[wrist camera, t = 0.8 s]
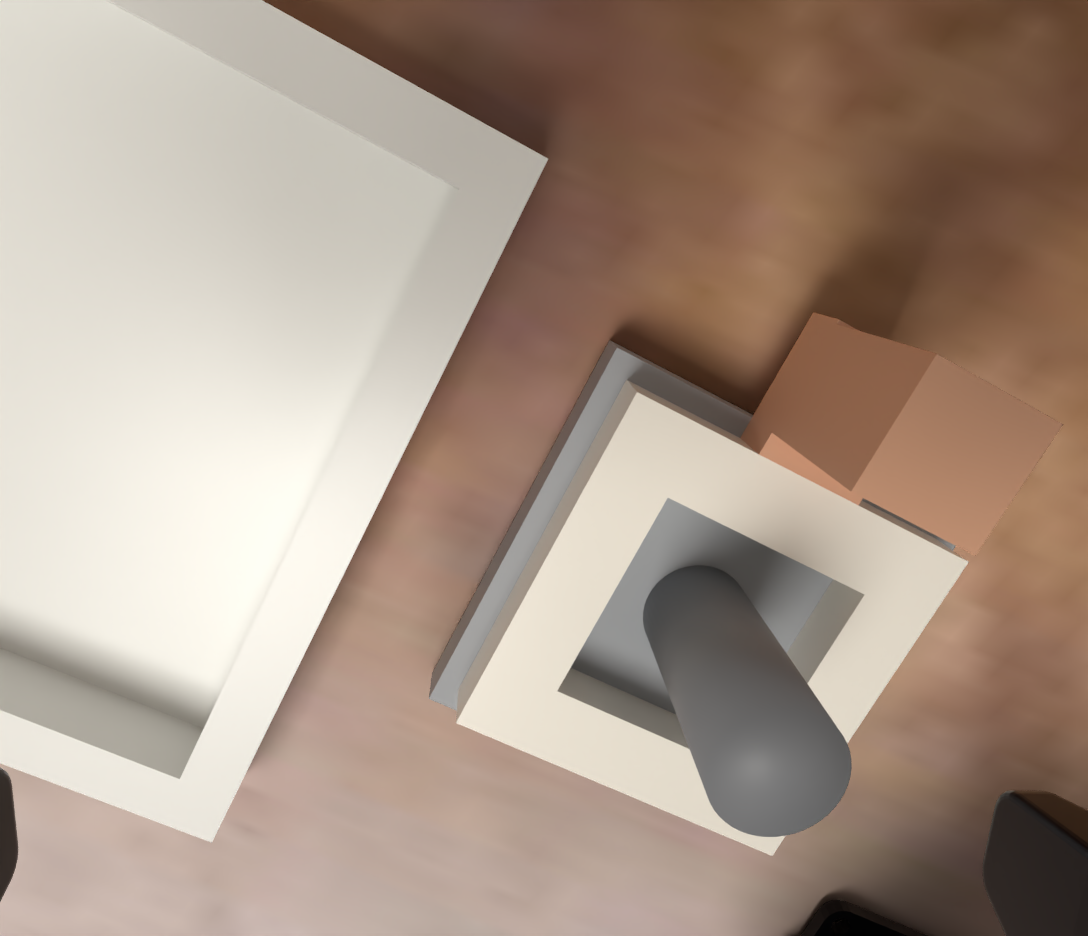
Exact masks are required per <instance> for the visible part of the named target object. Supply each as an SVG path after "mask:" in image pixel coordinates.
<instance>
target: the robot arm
mask: <svg viewBox="0 0 1088 936" xmlns="http://www.w3.org/2000/svg"><path fill="white" fill-rule="evenodd" d="M17 858H18V840H17V830H16V820H15V811H14V801H13V791H12V784H11V780H10V777H9V775H8V773H7V772H6V771H4V770H3V769H2V768H0V901H1V899H2V897H3V895H4V893H5V891H6V889H7V887H8V885H9V883H10V881H11V879H12V876H13V874H14V871H15V868H16V863H17ZM983 881H984V886H985V889H986V892H987V895H988V898H989V900H990V902H991V904H992V906H993V909H994V911H995V913H996V915H997V917H998V920H999V922H1000V924H1001V926H1002V928H1003V931H1004V933H1005V935H1006V936H1088V810H1086V809H1084V808H1082V807H1080V806H1078V805H1075V804H1073V803H1071V802H1069V801H1067V800H1065V799H1063V798H1061V797H1059V796H1057V795H1055V794H1053V793H1050V792H1045V791H1019V790H1010V791H1006V792H1005V793H1003V794H1002V795H1000V797H999V798H998V800H997V802H996V805H995V809H994V814H993V818H992V823H991V828H990V832H989V837H988V841H987V846H986V851H985V855H984V860H983ZM841 918H842V920H841V921H839V922H837V923H833V922H834V921H835V920H837V919H841ZM801 936H928V935H925V934H923V933H920V932H918V931H916V930H913V929H911V928H908V927H906V926H904V925H901V924H899V923H896V922H894V921H892V920H889V919H887V918H884V917H882V916H880V915H877V914H875V913H872V912H870V911H868V910H865V909H863V908H860V907H858V906H856V905H853V904H851V903H849V902H846V901H843V900H831V901H829V902H827V903H825V904H824V905H823V906H822V907H821V908H820V909H819V910H818V912H817V913H816V914H815V916H814V917H813V919H812V920H811V922H810V923H809V924H808V926H807V927H806V929H805V930H804V932H803V933H802V935H801Z"/></svg>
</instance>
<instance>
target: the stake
mask: <svg viewBox="0 0 1088 936" xmlns="http://www.w3.org/2000/svg"><path fill="white" fill-rule="evenodd" d="M626 380H628V381H630V382H632V383H634V384H636V385H638V386H640V387H642V388H644V389H646V390H647V391H649V392H651V393H653V394H655V395H657V396H659V397H661V398H663V399H665V400H667V401H669V402H671V403H673V404H675V405H677V406H679V407H681V408H682V409H684V410H686V411H688V412H690V413H692V414H694V415H696V416H698V417H700V418H702V419H704V420H706V421H708V422H710V423H712V424H714V425H716V426H718V427H719V428H721V429H723V430H725V431H727V432H729V433H731V434H733V435H735V436H737V437H739V438H740V437H741V436H742V434H743V432H744V430H745V429H746V427H747V425H748V423H749V422H750V420H751V418H752V417H753V415H752V414H750V413H748V412H747V411H745V410H743V409H741V408H739V407H737V406H735V405H733V404H731V403H729V402H727V401H725V400H724V399H722V398H720V397H718V396H716V395H714V394H712V393H710V392H708V391H706V390H704V389H702V388H701V387H699V386H697V385H695V384H693V383H691V382H689V381H687V380H685V379H683V378H681V377H679V376H677V375H676V374H674V373H672V372H670V371H668V370H666V369H664V368H662V367H660V366H658V365H656V364H654V363H653V362H651V361H649V360H647V359H645V358H643V357H641V356H639V355H637V354H635V353H633V352H631V351H630V350H628V349H626V348H624V347H622V346H620V345H618V344H616V343H614V342H612V341H610V340H609V342H608V344H607V346H606V348H605V349H604V351H603V353H602V355H601V357H600V359H599V361H598V363H597V364H596V366H595V368H594V370H593V372H592V374H591V376H590V378H589V379H588V381H587V383H586V385H585V387H584V389H583V391H582V393H581V395H580V396H579V398H578V400H577V402H576V404H575V406H574V408H573V410H572V411H571V413H570V415H569V417H568V419H567V421H566V423H565V425H564V426H563V428H562V430H561V432H560V434H559V436H558V438H557V440H556V441H555V443H554V445H553V447H552V449H551V451H550V453H549V455H548V456H547V458H546V460H545V462H544V464H543V466H542V468H541V470H540V472H539V473H538V475H537V477H536V479H535V481H534V483H533V485H532V487H531V488H530V490H529V492H528V494H527V496H526V498H525V500H524V502H523V503H522V505H521V507H520V509H519V511H518V513H517V515H516V517H515V518H514V520H513V522H512V524H511V526H510V528H509V530H508V532H507V533H506V535H505V537H504V539H503V541H502V543H501V545H500V547H499V548H498V550H497V552H496V554H495V556H494V558H493V560H492V562H491V564H490V565H489V567H488V569H487V571H486V573H485V575H484V577H483V579H482V580H481V582H480V584H479V586H478V588H477V590H476V592H475V594H474V595H473V597H472V599H471V601H470V603H469V605H468V607H467V609H466V610H465V612H464V614H463V616H462V618H461V620H460V622H459V624H458V625H457V627H456V629H455V631H454V633H453V635H452V637H451V639H450V641H449V642H448V644H447V646H446V648H445V650H444V652H443V654H442V656H441V657H440V659H439V661H438V663H437V665H436V667H435V669H434V671H433V672H432V678H431V686H430V694H429V699H431V700H433V701H435V702H438V703H440V704H442V705H445V706H447V707H449V708H452V709H454V710H457V700H458V689H459V687H460V685H461V684H462V682H463V680H464V678H465V676H466V674H467V672H468V671H469V669H470V667H471V665H472V663H473V661H474V660H475V658H476V656H477V654H478V652H479V650H480V649H481V647H482V645H483V643H484V641H485V639H486V637H487V636H488V634H489V632H490V630H491V628H492V626H493V625H494V623H495V621H496V619H497V617H498V615H499V614H500V612H501V610H502V608H503V606H504V604H505V602H506V601H507V599H508V597H509V595H510V593H511V591H512V590H513V588H514V586H515V584H516V582H517V580H518V579H519V577H520V575H521V573H522V571H523V569H524V567H525V566H526V564H527V562H528V560H529V558H530V556H531V555H532V553H533V551H534V549H535V547H536V545H537V544H538V542H539V540H540V538H541V536H542V534H543V532H544V531H545V529H546V527H547V525H548V523H549V521H550V520H551V518H552V516H553V514H554V512H555V510H556V508H557V507H558V505H559V503H560V501H561V499H562V497H563V496H564V494H565V492H566V490H567V488H568V486H569V485H570V483H571V481H572V479H573V477H574V475H575V473H576V472H577V470H578V468H579V466H580V464H581V462H582V461H583V459H584V457H585V455H586V453H587V451H588V450H589V448H590V446H591V444H592V442H593V440H594V438H595V437H596V435H597V433H598V431H599V429H600V427H601V426H602V424H603V422H604V420H605V418H606V416H607V415H608V413H609V411H610V409H611V407H612V405H613V403H614V402H615V400H616V398H617V396H618V394H619V392H620V391H621V389H622V387H623V385H624V383H625V381H626ZM861 501H863V502H865V503H867V504H869V505H871V506H873V507H875V508H877V509H879V510H881V511H883V512H885V513H887V514H889V515H891V516H893V517H894V518H896V519H898V520H900V521H902V522H904V523H906V524H908V525H910V526H912V527H914V528H916V529H918V530H920V531H922V532H924V533H926V534H928V535H930V536H931V537H933V538H935V539H937V540H938V541H940V542H941V543H943V544H944V545H945V546H947V547H948V548H950V549H951V550H952V551H953V549H954V548H955V545H953V544H951V543H949V542H948V541H946V540H944V539H942V538H940V537H938V536H936V535H934V534H932V533H930V532H928V531H926V530H924V529H922V528H920V527H918V526H916V525H915V524H913V523H911V522H909V521H907V520H905V519H903V518H901V517H899V516H897V515H895V514H893V513H891V512H889V511H887V510H885V509H883V508H881V507H880V506H878V505H876V504H874V503H872V502H870V501H868V500H866V499H864V498H863V499H862V500H861ZM832 581H833V579H832V578H830V577H828V576H826V575H824V574H822V573H820V572H818V571H816V570H814V569H812V568H810V567H808V566H806V565H804V564H802V563H800V562H798V561H795V560H793V559H791V558H789V557H787V556H785V555H783V554H781V553H779V552H777V551H775V550H773V549H771V548H769V547H767V546H765V545H763V544H761V543H759V542H757V541H755V540H753V539H751V538H749V537H747V536H745V535H743V534H741V533H739V532H737V531H735V530H733V529H730V528H728V527H726V526H724V525H722V524H720V523H718V522H716V521H714V520H712V519H710V518H708V517H706V516H704V515H702V514H700V513H698V512H696V511H694V510H692V509H690V508H688V507H686V506H684V505H682V504H680V503H678V502H676V501H674V500H672V499H670V498H667V500H666V502H665V504H664V505H663V507H662V509H661V511H660V512H659V514H658V516H657V518H656V519H655V521H654V523H653V524H652V526H651V528H650V530H649V531H648V533H647V535H646V537H645V538H644V540H643V542H642V544H641V545H640V547H639V549H638V551H637V552H636V554H635V556H634V558H633V559H632V561H631V563H630V565H629V566H628V568H627V570H626V572H625V573H624V575H623V577H622V579H621V580H620V582H619V584H618V586H617V587H616V589H615V591H614V593H613V594H612V596H611V598H610V600H609V601H608V603H607V605H606V607H605V608H604V610H603V612H602V614H601V615H600V617H599V619H598V621H597V622H596V624H595V626H594V628H593V629H592V631H591V633H590V635H589V636H588V638H587V640H586V642H585V643H584V645H583V647H582V649H581V650H580V652H579V654H578V656H577V657H576V659H575V661H574V663H573V664H572V666H571V668H572V669H575V670H577V671H579V672H581V673H584V674H586V675H588V676H590V677H593V678H595V679H597V680H599V681H602V682H604V683H606V684H608V685H611V686H613V687H615V688H617V689H620V690H622V691H624V692H626V693H629V694H631V695H633V696H635V697H638V698H640V699H642V700H644V701H647V702H649V703H651V704H653V705H656V706H658V707H660V708H662V709H665V710H667V711H669V712H671V713H674V714H676V715H677V717H678V720H679V723H680V725H681V728H682V731H683V733H684V736H685V739H686V741H687V744H688V746H689V749H690V752H691V754H692V757H693V760H694V762H695V765H696V768H697V770H698V773H699V776H700V778H701V781H702V784H703V786H704V789H705V791H706V794H707V797H708V799H709V802H710V804H711V806H712V807H713V809H714V811H715V812H716V813H717V814H718V816H719V817H720V818H721V819H722V820H723V821H725V822H726V823H727V824H729V825H730V826H731V827H733V828H735V829H737V830H739V831H741V832H744V833H747V834H750V835H755V836H761V837H779V836H786V835H790V834H794V833H797V832H800V831H803V830H805V829H807V828H809V827H811V826H813V825H814V824H816V823H818V822H819V821H821V820H822V819H823V818H824V817H826V816H827V815H828V814H829V813H830V812H831V811H832V810H833V809H834V808H835V807H836V805H837V804H838V803H839V801H840V800H841V798H842V796H843V795H844V793H845V791H846V788H847V786H848V783H849V780H850V775H851V755H850V750H849V747H848V744H847V742H846V740H845V738H844V736H843V735H842V733H841V732H840V731H839V729H838V728H837V726H836V725H835V723H834V722H833V720H832V719H831V717H830V716H829V715H828V713H827V712H826V710H825V709H824V707H823V706H822V704H821V703H820V701H819V700H818V699H817V697H816V696H815V694H814V693H813V691H812V690H811V688H810V687H809V685H808V684H807V682H806V681H805V680H804V678H803V677H802V675H801V674H800V672H799V671H798V669H797V668H796V666H795V665H794V664H793V662H792V661H791V659H790V658H789V656H788V655H787V652H788V650H789V648H790V647H791V645H792V644H793V642H794V641H795V639H796V637H797V636H798V634H799V633H800V631H801V629H802V628H803V626H804V625H805V623H806V622H807V620H808V618H809V617H810V615H811V614H812V612H813V611H814V609H815V607H816V606H817V604H818V603H819V601H820V599H821V598H822V596H823V595H824V593H825V592H826V590H827V588H828V587H829V585H830V584H831V582H832Z"/></svg>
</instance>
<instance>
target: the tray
mask: <svg viewBox="0 0 1088 936" xmlns="http://www.w3.org/2000/svg"><path fill="white" fill-rule="evenodd" d="M547 160H548V158H546V157H544V156H542V155H540V154H539V153H537V152H535V151H533V150H531V149H530V148H528V147H526V146H524V145H522V144H521V143H519V142H517V141H515V140H513V139H511V138H510V137H508V136H506V135H504V134H502V133H501V132H499V131H497V130H495V129H493V128H492V127H490V126H488V125H486V124H484V123H483V122H481V121H479V120H477V119H475V118H474V117H472V116H470V115H468V114H466V113H465V112H463V111H461V110H459V109H457V108H456V107H454V106H452V105H450V104H448V103H447V102H445V101H443V100H441V99H439V98H437V97H436V96H434V95H432V94H430V93H428V92H427V91H425V90H423V89H421V88H419V87H418V86H416V85H414V84H412V83H410V82H409V81H407V80H405V79H403V78H401V77H400V76H398V75H396V74H394V73H392V72H391V71H389V70H387V69H385V68H383V67H382V66H380V65H378V64H376V63H374V62H372V61H371V60H369V59H367V58H365V57H363V56H362V55H360V54H358V53H356V52H354V51H353V50H351V49H349V48H347V47H345V46H344V45H342V44H340V43H338V42H336V41H335V40H333V39H331V38H329V37H327V36H326V35H324V34H322V33H320V32H318V31H317V30H315V29H313V28H311V27H309V26H308V25H306V24H304V23H302V22H300V21H298V20H297V19H295V18H293V17H291V16H289V15H288V14H286V13H284V12H282V11H280V10H279V9H277V8H275V7H273V6H271V5H270V4H268V3H266V2H264V1H262V0H0V763H1V764H4V765H6V766H9V767H12V768H14V769H17V770H20V771H22V772H25V773H28V774H30V775H33V776H36V777H38V778H41V779H44V780H46V781H49V782H52V783H54V784H57V785H60V786H62V787H65V788H68V789H70V790H73V791H76V792H78V793H81V794H84V795H86V796H89V797H92V798H94V799H97V800H100V801H102V802H105V803H108V804H110V805H113V806H116V807H118V808H121V809H124V810H126V811H129V812H132V813H134V814H137V815H139V816H142V817H145V818H147V819H150V820H153V821H155V822H158V823H161V824H163V825H166V826H169V827H171V828H174V829H177V830H179V831H182V832H185V833H187V834H190V835H193V836H195V837H198V838H201V839H203V840H206V841H209V842H211V843H212V841H213V839H214V837H215V835H216V833H217V831H218V829H219V827H220V825H221V823H222V821H223V819H224V817H225V815H226V812H227V810H228V808H229V806H230V804H231V802H232V800H233V798H234V796H235V794H236V792H237V790H238V788H239V786H240V784H241V782H242V780H243V778H244V776H245V774H246V772H247V770H248V768H249V766H250V764H251V762H252V760H253V758H254V756H255V754H256V752H257V749H258V747H259V745H260V743H261V741H262V739H263V737H264V735H265V733H266V731H267V729H268V727H269V725H270V723H271V721H272V719H273V717H274V715H275V713H276V711H277V709H278V707H279V705H280V703H281V701H282V699H283V697H284V695H285V693H286V691H287V689H288V687H289V684H290V682H291V680H292V678H293V676H294V674H295V672H296V670H297V668H298V666H299V664H300V662H301V660H302V658H303V656H304V654H305V652H306V650H307V648H308V646H309V644H310V642H311V640H312V638H313V636H314V634H315V632H316V630H317V628H318V626H319V624H320V622H321V619H322V617H323V615H324V613H325V611H326V609H327V607H328V605H329V603H330V601H331V599H332V597H333V595H334V593H335V591H336V589H337V587H338V585H339V583H340V581H341V579H342V577H343V575H344V573H345V571H346V569H347V567H348V565H349V563H350V561H351V559H352V556H353V554H354V552H355V550H356V548H357V546H358V544H359V542H360V540H361V538H362V536H363V534H364V532H365V530H366V528H367V526H368V524H369V522H370V520H371V518H372V516H373V514H374V512H375V510H376V508H377V506H378V504H379V502H380V500H381V498H382V496H383V494H384V491H385V489H386V487H387V485H388V483H389V481H390V479H391V477H392V475H393V473H394V471H395V469H396V467H397V465H398V463H399V461H400V459H401V457H402V455H403V453H404V451H405V449H406V447H407V445H408V443H409V441H410V439H411V437H412V435H413V433H414V431H415V429H416V426H417V424H418V422H419V420H420V418H421V416H422V414H423V412H424V410H425V408H426V406H427V404H428V402H429V400H430V398H431V396H432V394H433V392H434V390H435V388H436V386H437V384H438V382H439V380H440V378H441V376H442V374H443V372H444V370H445V368H446V366H447V364H448V361H449V359H450V357H451V355H452V353H453V351H454V349H455V347H456V345H457V343H458V341H459V339H460V337H461V335H462V333H463V331H464V329H465V327H466V325H467V323H468V321H469V319H470V317H471V315H472V313H473V311H474V309H475V307H476V305H477V303H478V301H479V298H480V296H481V294H482V292H483V290H484V288H485V286H486V284H487V282H488V280H489V278H490V276H491V274H492V272H493V270H494V268H495V266H496V264H497V262H498V260H499V258H500V256H501V254H502V252H503V250H504V248H505V246H506V244H507V242H508V240H509V238H510V236H511V233H512V231H513V229H514V227H515V225H516V223H517V221H518V219H519V217H520V215H521V213H522V211H523V209H524V207H525V205H526V203H527V201H528V199H529V197H530V195H531V193H532V191H533V189H534V187H535V185H536V183H537V181H538V179H539V177H540V175H541V173H542V171H543V168H544V166H545V164H546V162H547Z"/></svg>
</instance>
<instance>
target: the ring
mask: <svg viewBox="0 0 1088 936" xmlns="http://www.w3.org/2000/svg"><path fill="white" fill-rule="evenodd" d="M1062 426H1063V424H1062V423H1060V422H1058V421H1057V420H1055V419H1053V418H1051V417H1049V416H1048V415H1046V414H1044V413H1042V412H1040V411H1039V410H1037V409H1035V408H1033V407H1031V406H1030V405H1028V404H1026V403H1024V402H1023V401H1021V400H1019V399H1017V398H1015V397H1014V396H1012V395H1010V394H1008V393H1006V392H1005V391H1003V390H1001V389H999V388H997V387H996V386H994V385H992V384H990V383H989V382H987V381H985V380H983V379H981V378H980V377H978V376H976V375H974V374H972V373H971V372H969V371H967V370H965V369H963V368H962V367H960V366H958V365H956V364H955V363H953V362H951V361H949V360H947V359H946V358H944V357H942V356H940V355H938V354H936V353H933V352H929V351H926V350H923V349H919V348H916V347H913V346H909V345H906V344H902V343H899V342H896V341H892V340H889V339H885V338H882V337H879V336H875V335H872V334H868V333H865V332H862V331H859V330H857V329H855V328H854V327H852V326H850V325H848V324H846V323H845V322H843V321H841V320H839V319H836V318H832V317H829V316H825V315H821V314H818V313H814V312H813V314H812V315H811V317H810V319H809V321H808V322H807V324H806V326H805V327H804V329H803V331H802V333H801V334H800V336H799V338H798V339H797V341H796V343H795V345H794V346H793V348H792V350H791V351H790V353H789V355H788V357H787V358H786V360H785V362H784V363H783V365H782V367H781V369H780V370H779V372H778V374H777V375H776V377H775V379H774V381H773V382H772V384H771V386H770V387H769V389H768V391H767V393H766V394H765V396H764V398H763V399H762V401H761V403H760V405H759V406H758V408H757V410H756V411H755V413H754V415H753V417H752V418H751V420H750V422H749V423H748V425H747V427H746V429H745V430H744V432H743V434H742V436H741V437H740V438H739V437H737V436H735V435H733V434H731V433H729V432H727V431H725V430H723V429H721V428H719V427H718V426H716V425H714V424H712V423H710V422H708V421H706V420H704V419H702V418H700V417H698V416H696V415H694V414H692V413H690V412H688V411H686V410H684V409H682V408H681V407H679V406H677V405H675V404H673V403H671V402H669V401H667V400H665V399H663V398H661V397H659V396H657V395H655V394H653V393H651V392H649V391H647V390H646V389H644V388H642V387H640V386H638V385H636V384H634V383H632V382H630V381H628V380H626V381H625V383H624V385H623V387H622V389H621V391H620V392H619V394H618V396H617V398H616V400H615V402H614V403H613V405H612V407H611V409H610V411H609V413H608V415H607V416H606V418H605V420H604V422H603V424H602V426H601V427H600V429H599V431H598V433H597V435H596V437H595V438H594V440H593V442H592V444H591V446H590V448H589V450H588V451H587V453H586V455H585V457H584V459H583V461H582V462H581V464H580V466H579V468H578V470H577V472H576V473H575V475H574V477H573V479H572V481H571V483H570V485H569V486H568V488H567V490H566V492H565V494H564V496H563V497H562V499H561V501H560V503H559V505H558V507H557V508H556V510H555V512H554V514H553V516H552V518H551V520H550V521H549V523H548V525H547V527H546V529H545V531H544V532H543V534H542V536H541V538H540V540H539V542H538V544H537V545H536V547H535V549H534V551H533V553H532V555H531V556H530V558H529V560H528V562H527V564H526V566H525V567H524V569H523V571H522V573H521V575H520V577H519V579H518V580H517V582H516V584H515V586H514V588H513V590H512V591H511V593H510V595H509V597H508V599H507V601H506V602H505V604H504V606H503V608H502V610H501V612H500V614H499V615H498V617H497V619H496V621H495V623H494V625H493V626H492V628H491V630H490V632H489V634H488V636H487V637H486V639H485V641H484V643H483V645H482V647H481V649H480V650H479V652H478V654H477V656H476V658H475V660H474V661H473V663H472V665H471V667H470V669H469V671H468V672H467V674H466V676H465V678H464V680H463V682H462V684H461V685H460V687H459V689H458V700H457V715H456V723H457V724H460V725H462V726H464V727H467V728H469V729H472V730H474V731H476V732H479V733H481V734H483V735H486V736H488V737H491V738H493V739H495V740H498V741H500V742H502V743H505V744H507V745H510V746H512V747H514V748H517V749H519V750H521V751H524V752H526V753H529V754H531V755H533V756H536V757H538V758H540V759H543V760H545V761H548V762H550V763H552V764H555V765H557V766H559V767H562V768H564V769H567V770H569V771H571V772H574V773H576V774H578V775H581V776H583V777H586V778H588V779H590V780H593V781H595V782H597V783H600V784H602V785H605V786H607V787H609V788H612V789H614V790H616V791H619V792H621V793H624V794H626V795H628V796H631V797H633V798H635V799H638V800H640V801H643V802H645V803H647V804H650V805H652V806H654V807H657V808H659V809H662V810H664V811H666V812H669V813H671V814H674V815H676V816H678V817H681V818H683V819H685V820H688V821H690V822H693V823H695V824H697V825H700V826H702V827H704V828H707V829H709V830H712V831H714V832H716V833H719V834H721V835H723V836H726V837H728V838H731V839H733V840H735V841H738V842H740V843H742V844H745V845H747V846H750V847H752V848H754V849H757V850H759V851H761V852H764V853H766V854H769V855H771V856H773V854H774V853H775V851H776V850H777V848H778V847H779V845H780V844H781V842H782V841H783V839H784V838H785V836H779V837H761V836H755V835H750V834H747V833H744V832H741V831H739V830H737V829H735V828H733V827H731V826H730V825H729V824H727V823H726V822H725V821H723V820H722V819H721V818H720V817H719V816H718V814H717V813H716V812H715V811H714V809H713V807H712V806H711V804H710V802H709V799H708V797H707V794H706V791H705V789H704V786H703V784H702V781H701V778H700V776H699V773H698V770H697V768H696V765H695V762H694V760H693V757H692V754H691V752H690V749H689V746H688V744H687V741H686V739H685V736H684V733H683V731H682V728H681V725H680V723H679V720H678V717H677V715H676V714H674V713H671V712H669V711H667V710H665V709H662V708H660V707H658V706H656V705H653V704H651V703H649V702H647V701H644V700H642V699H640V698H638V697H635V696H633V695H631V694H629V693H626V692H624V691H622V690H620V689H617V688H615V687H613V686H611V685H608V684H606V683H604V682H602V681H599V680H597V679H595V678H593V677H590V676H588V675H586V674H584V673H581V672H579V671H577V670H575V669H572V668H571V666H572V664H573V663H574V661H575V659H576V657H577V656H578V654H579V652H580V650H581V649H582V647H583V645H584V643H585V642H586V640H587V638H588V636H589V635H590V633H591V631H592V629H593V628H594V626H595V624H596V622H597V621H598V619H599V617H600V615H601V614H602V612H603V610H604V608H605V607H606V605H607V603H608V601H609V600H610V598H611V596H612V594H613V593H614V591H615V589H616V587H617V586H618V584H619V582H620V580H621V579H622V577H623V575H624V573H625V572H626V570H627V568H628V566H629V565H630V563H631V561H632V559H633V558H634V556H635V554H636V552H637V551H638V549H639V547H640V545H641V544H642V542H643V540H644V538H645V537H646V535H647V533H648V531H649V530H650V528H651V526H652V524H653V523H654V521H655V519H656V518H657V516H658V514H659V512H660V511H661V509H662V507H663V505H664V504H665V502H666V500H667V498H670V499H672V500H674V501H676V502H678V503H680V504H682V505H684V506H686V507H688V508H690V509H692V510H694V511H696V512H698V513H700V514H702V515H704V516H706V517H708V518H710V519H712V520H714V521H716V522H718V523H720V524H722V525H724V526H726V527H728V528H730V529H733V530H735V531H737V532H739V533H741V534H743V535H745V536H747V537H749V538H751V539H753V540H755V541H757V542H759V543H761V544H763V545H765V546H767V547H769V548H771V549H773V550H775V551H777V552H779V553H781V554H783V555H785V556H787V557H789V558H791V559H793V560H795V561H798V562H800V563H802V564H804V565H806V566H808V567H810V568H812V569H814V570H816V571H818V572H820V573H822V574H824V575H826V576H828V577H830V578H832V579H833V581H832V582H831V584H830V585H829V587H828V588H827V590H826V592H825V593H824V595H823V596H822V598H821V599H820V601H819V603H818V604H817V606H816V607H815V609H814V611H813V612H812V614H811V615H810V617H809V618H808V620H807V622H806V623H805V625H804V626H803V628H802V629H801V631H800V633H799V634H798V636H797V637H796V639H795V641H794V642H793V644H792V645H791V647H790V648H789V650H788V652H787V655H788V656H789V658H790V659H791V661H792V662H793V664H794V665H795V666H796V668H797V669H798V671H799V672H800V674H801V675H802V677H803V678H804V680H805V681H806V682H807V684H808V685H809V687H810V688H811V690H812V691H813V693H814V694H815V696H816V697H817V699H818V700H819V701H820V703H821V704H822V706H823V707H824V709H825V710H826V712H827V713H828V715H829V716H830V717H831V719H832V720H833V722H834V723H835V725H836V726H837V728H838V729H839V731H840V732H841V733H842V735H843V736H844V738H845V740H846V742H847V743H848V742H849V740H850V739H851V737H852V736H853V734H854V733H855V731H856V730H857V728H858V727H859V725H860V724H861V722H862V721H863V719H864V718H865V716H866V715H867V713H868V712H869V710H870V709H871V707H872V706H873V704H874V703H875V701H876V700H877V698H878V697H879V695H880V694H881V692H882V691H883V689H884V688H885V686H886V685H887V683H888V682H889V680H890V679H891V677H892V676H893V674H894V673H895V671H896V670H897V668H898V667H899V665H900V664H901V662H902V661H903V659H904V658H905V656H906V655H907V653H908V652H909V651H910V649H911V648H912V646H913V645H914V643H915V642H916V640H917V639H918V637H919V636H920V634H921V633H922V631H923V630H924V628H925V627H926V625H927V624H928V622H929V621H930V619H931V618H932V616H933V615H934V613H935V612H936V610H937V609H938V607H939V606H940V604H941V603H942V601H943V600H944V598H945V597H946V595H947V594H948V592H949V591H950V589H951V588H952V586H953V585H954V583H955V582H956V580H957V579H958V577H959V576H960V574H961V573H962V571H963V570H964V568H965V567H966V565H967V564H968V561H967V560H965V559H964V558H962V557H961V556H960V555H958V554H957V553H955V552H954V551H952V550H951V549H950V548H948V547H947V546H945V545H944V544H943V543H941V542H940V541H938V540H937V539H935V538H933V537H931V536H930V535H928V534H926V533H924V532H922V531H920V530H918V529H916V528H914V527H912V526H910V525H908V524H906V523H904V522H902V521H900V520H898V519H896V518H894V517H893V516H891V515H889V514H887V513H885V512H883V511H881V510H879V509H877V508H875V507H873V506H871V505H869V504H867V503H865V502H863V501H861V500H862V499H863V498H864V499H866V500H868V501H870V502H872V503H874V504H876V505H878V506H880V507H881V508H883V509H885V510H887V511H889V512H891V513H893V514H895V515H897V516H899V517H901V518H903V519H905V520H907V521H909V522H911V523H913V524H915V525H916V526H918V527H920V528H922V529H924V530H926V531H928V532H930V533H932V534H934V535H936V536H938V537H940V538H942V539H944V540H946V541H948V542H949V543H951V544H953V545H955V546H957V547H959V548H961V549H963V550H965V551H967V552H969V553H971V554H973V555H975V556H976V554H977V553H978V552H979V550H980V549H981V547H982V546H983V544H984V543H985V541H986V540H987V538H988V537H989V535H990V534H991V532H992V531H993V529H994V528H995V526H996V525H997V523H998V522H999V520H1000V519H1001V517H1002V516H1003V514H1004V513H1005V511H1006V510H1007V508H1008V507H1009V505H1010V504H1011V502H1012V501H1013V499H1014V498H1015V496H1016V495H1017V493H1018V492H1019V490H1020V489H1021V487H1022V486H1023V484H1024V483H1025V481H1026V480H1027V478H1028V477H1029V475H1030V474H1031V472H1032V471H1033V469H1034V468H1035V466H1036V465H1037V463H1038V462H1039V460H1040V459H1041V457H1042V456H1043V454H1044V453H1045V451H1046V450H1047V448H1048V447H1049V445H1050V444H1051V442H1052V441H1053V439H1054V438H1055V436H1056V435H1057V433H1058V432H1059V430H1060V429H1061V427H1062Z"/></svg>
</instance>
